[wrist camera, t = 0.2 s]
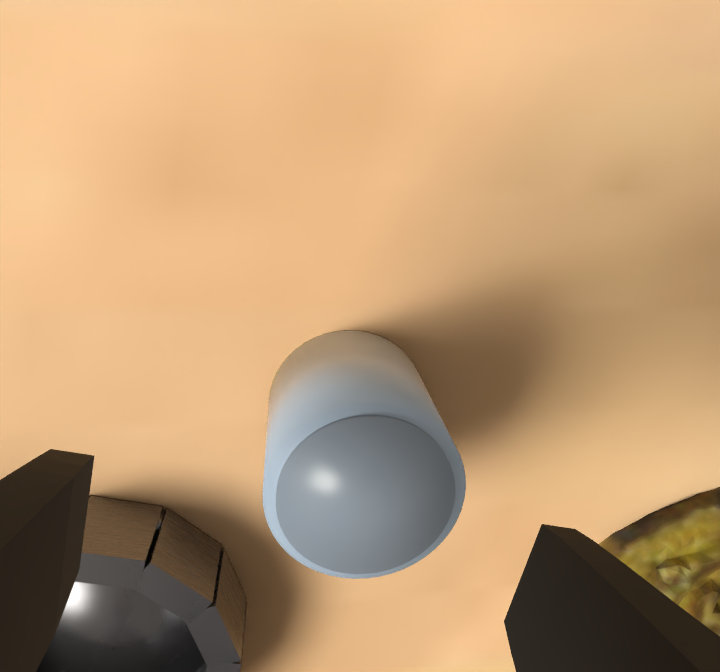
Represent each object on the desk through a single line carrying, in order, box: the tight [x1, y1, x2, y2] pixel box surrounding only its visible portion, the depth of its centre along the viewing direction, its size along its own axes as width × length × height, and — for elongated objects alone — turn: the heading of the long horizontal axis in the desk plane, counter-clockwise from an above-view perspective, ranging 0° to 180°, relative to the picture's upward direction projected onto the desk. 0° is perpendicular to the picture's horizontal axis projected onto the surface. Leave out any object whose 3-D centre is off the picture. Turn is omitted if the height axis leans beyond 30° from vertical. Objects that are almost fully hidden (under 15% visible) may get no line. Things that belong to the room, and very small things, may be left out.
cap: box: [263, 330, 466, 579], centre depth 17 cm, size 5×5×5 cm
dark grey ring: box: [36, 496, 247, 672], centre depth 20 cm, size 9×9×3 cm
